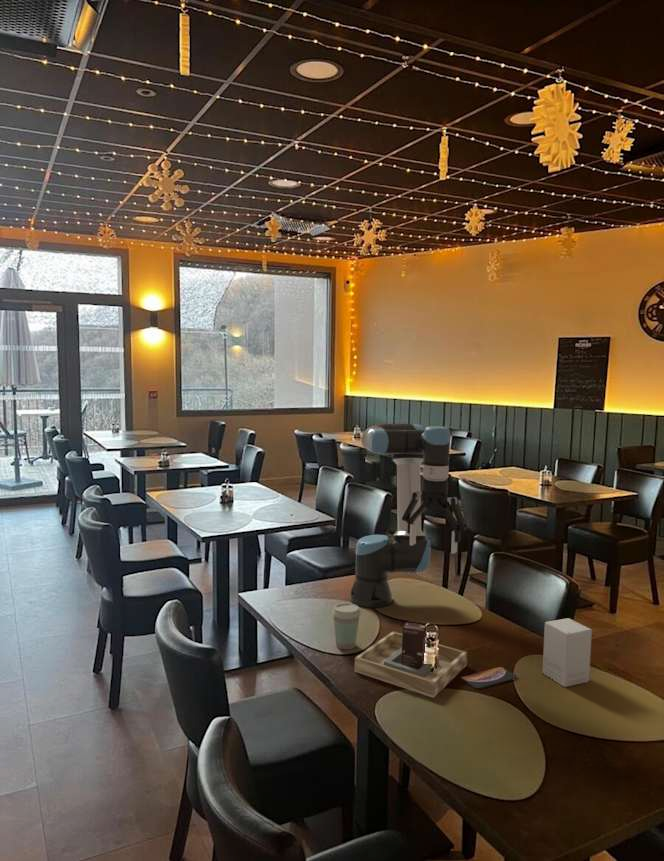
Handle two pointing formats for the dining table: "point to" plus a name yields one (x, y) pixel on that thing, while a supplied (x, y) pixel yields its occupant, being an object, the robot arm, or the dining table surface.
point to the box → (413, 645)
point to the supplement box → (567, 652)
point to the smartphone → (488, 678)
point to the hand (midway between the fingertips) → (432, 548)
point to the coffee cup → (346, 624)
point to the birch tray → (429, 685)
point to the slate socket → (394, 663)
